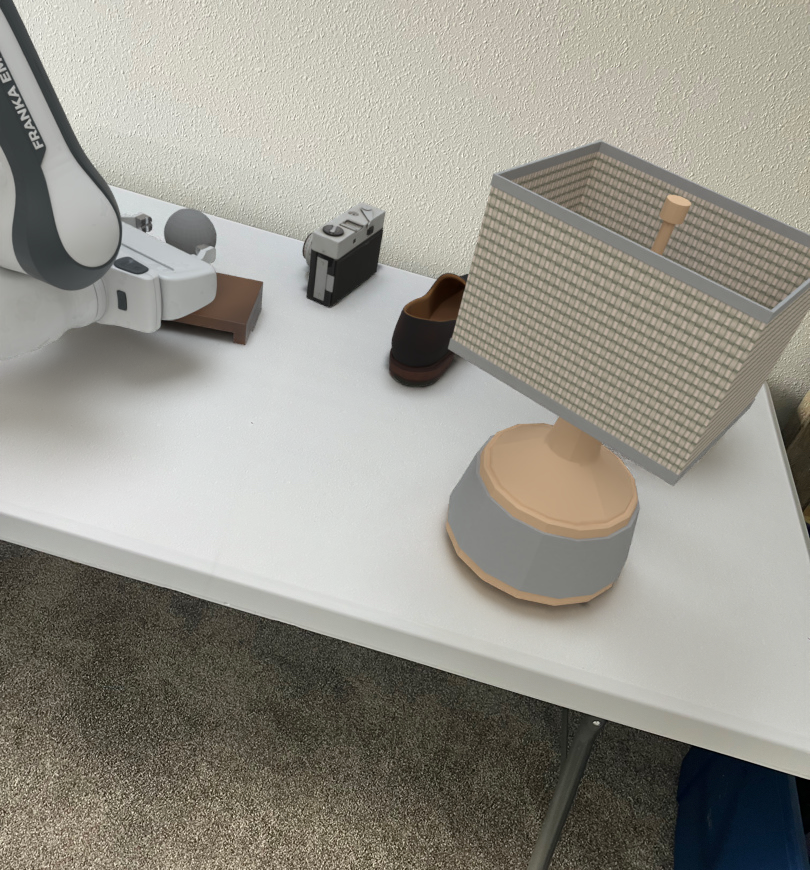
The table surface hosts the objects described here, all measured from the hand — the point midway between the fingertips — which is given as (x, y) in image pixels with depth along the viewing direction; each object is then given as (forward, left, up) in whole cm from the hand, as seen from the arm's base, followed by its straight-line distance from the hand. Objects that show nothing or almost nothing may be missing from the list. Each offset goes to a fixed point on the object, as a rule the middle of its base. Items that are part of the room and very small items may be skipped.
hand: (178, 236), depth 91 cm
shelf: (+1, +2, -12) cm, 12 cm away
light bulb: (+1, +1, -8) cm, 8 cm away
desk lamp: (+44, -29, -12) cm, 54 cm away
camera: (+17, +19, -12) cm, 28 cm away
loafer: (+34, +8, -12) cm, 37 cm away
